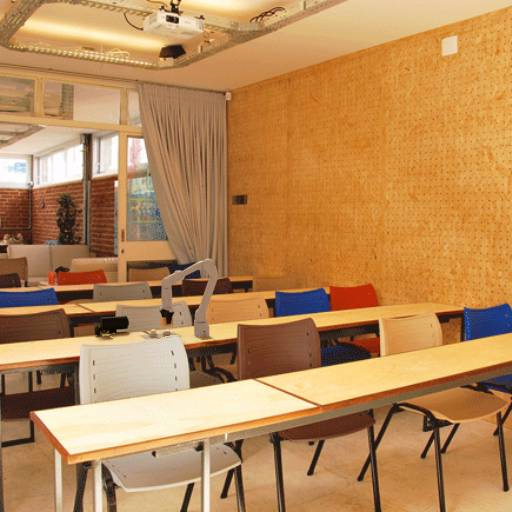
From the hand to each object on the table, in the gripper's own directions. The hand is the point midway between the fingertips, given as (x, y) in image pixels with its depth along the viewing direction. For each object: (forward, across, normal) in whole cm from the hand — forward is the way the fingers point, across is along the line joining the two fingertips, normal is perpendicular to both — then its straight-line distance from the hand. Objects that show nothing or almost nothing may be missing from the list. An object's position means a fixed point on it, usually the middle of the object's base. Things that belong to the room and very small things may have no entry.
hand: (166, 323), depth 356 cm
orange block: (+1, 0, 0) cm, 1 cm away
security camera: (+8, -20, -25) cm, 33 cm away
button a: (+6, 0, 0) cm, 6 cm away
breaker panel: (+8, 0, -4) cm, 9 cm away
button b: (+5, 0, -8) cm, 10 cm away
